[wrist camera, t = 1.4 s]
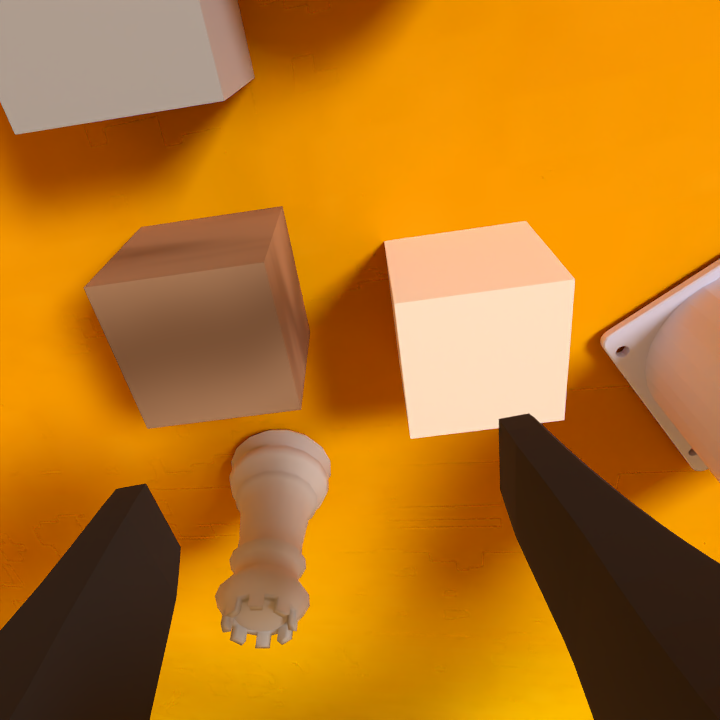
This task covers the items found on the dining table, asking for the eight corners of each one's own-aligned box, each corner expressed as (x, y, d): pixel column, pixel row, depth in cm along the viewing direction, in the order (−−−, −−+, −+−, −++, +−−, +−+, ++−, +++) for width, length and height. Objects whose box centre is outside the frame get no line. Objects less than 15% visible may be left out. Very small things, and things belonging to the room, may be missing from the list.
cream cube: (522, 341, 22) (564, 419, 18) (398, 357, 22) (410, 438, 18) (525, 220, 19) (574, 279, 15) (384, 240, 20) (394, 303, 15)
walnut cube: (309, 331, 21) (300, 409, 17) (186, 347, 22) (147, 428, 18) (282, 205, 19) (263, 262, 15) (141, 226, 19) (84, 287, 15)
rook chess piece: (212, 451, 25) (162, 617, 18) (291, 406, 23) (270, 567, 17) (274, 508, 27) (250, 677, 20) (350, 470, 25) (352, 636, 19)
